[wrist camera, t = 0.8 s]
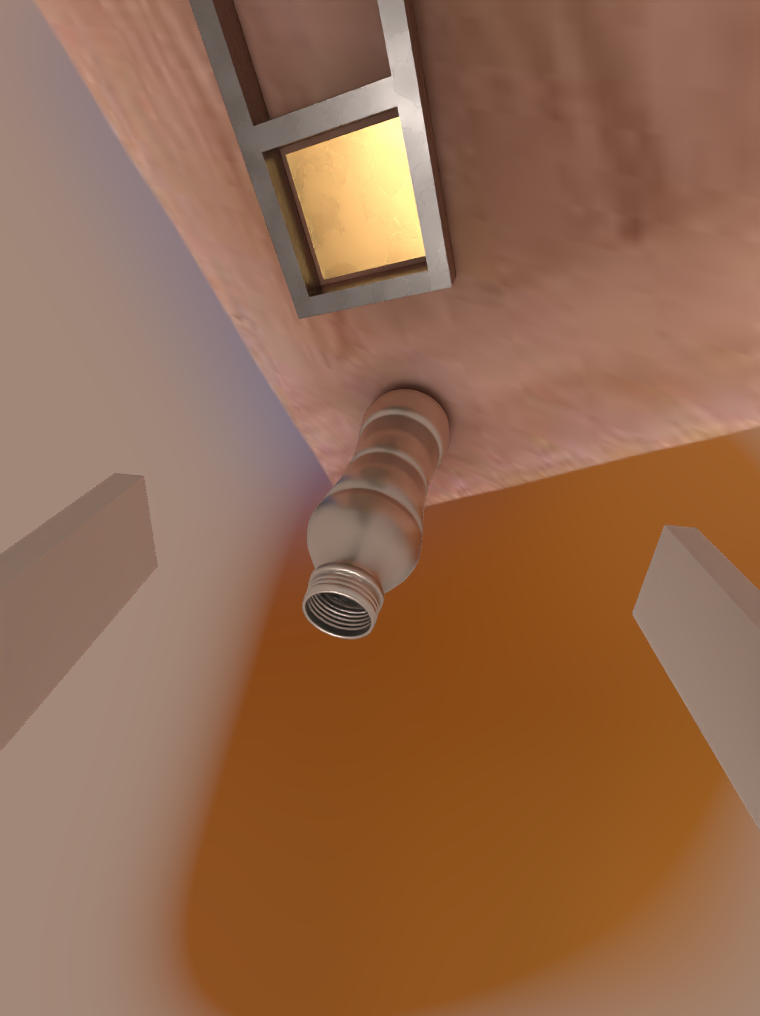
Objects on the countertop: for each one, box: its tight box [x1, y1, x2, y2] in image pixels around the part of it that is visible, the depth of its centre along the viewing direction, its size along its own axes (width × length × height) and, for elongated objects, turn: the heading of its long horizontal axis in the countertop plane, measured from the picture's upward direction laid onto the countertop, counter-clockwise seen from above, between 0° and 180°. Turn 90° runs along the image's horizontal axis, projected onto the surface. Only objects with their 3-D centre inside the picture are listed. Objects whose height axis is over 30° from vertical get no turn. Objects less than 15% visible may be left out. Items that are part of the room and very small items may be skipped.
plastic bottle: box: [302, 389, 450, 639], centre depth 32 cm, size 6×7×20 cm
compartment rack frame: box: [189, 0, 456, 319], centre depth 25 cm, size 29×10×2 cm, turn 15°
